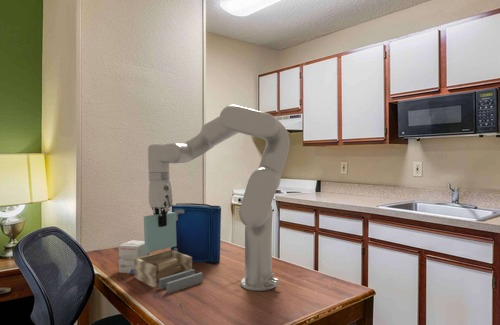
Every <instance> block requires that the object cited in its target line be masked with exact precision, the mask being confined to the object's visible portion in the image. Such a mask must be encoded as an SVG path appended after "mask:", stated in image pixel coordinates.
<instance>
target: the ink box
mask: <svg viewBox="0 0 500 325" xmlns="http://www.w3.org/2000/svg"><path fill="white" fill-rule="evenodd" d="M147 255H150V252H149V253H147V252H145V240H133V239H132V240H129V241H126V242H123V243H121V244H119V245H118V268H119V269H118V271H119V273H124V274H132V275H133V274H134V258H139V257H143V256H147Z"/></svg>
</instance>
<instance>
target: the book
mask: <svg viewBox="0 0 500 325" xmlns="http://www.w3.org/2000/svg"><path fill="white" fill-rule="evenodd" d="M171 212H175V213H176V243H177V246H175V247H170V250H174V251H177V252H179V253H182V254H185V255H188V256H190V257H192V263H205V264H208V263H210V264H217V263H218V262H220V261H221V233H222V232H221V231H222V230H221V229H222V228H221V226H222V224H221V221H222V207H221V205H212V204H211V205H210V204H207V203H194V202H193V203H191V202H190V203H189V202H188V203H187V202H186V203H175V204H173V205H172V206H171Z"/></svg>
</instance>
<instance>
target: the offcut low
mask: <svg viewBox="0 0 500 325" xmlns="http://www.w3.org/2000/svg"><path fill="white" fill-rule="evenodd" d="M181 272H182V267H181V266H179V265H178V267H177V268H174V269H171V270H167V271H164V272H161V273H158V272H156V283H159V279H161V278H164V277H168V276H171V275H174V274H178V273H181Z"/></svg>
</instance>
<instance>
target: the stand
mask: <svg viewBox="0 0 500 325" xmlns="http://www.w3.org/2000/svg"><path fill="white" fill-rule="evenodd" d="M200 283H201V284H202V283H204V273H203V272H201V271H200V272H198V273H196V270H195V269H194V268H192V269H191V270H188V271H185V272H181V273H178V274H174V275H171V276H168V277H164V278H161V279H159V286H158V289H159V290H164V289H166V290H165V292H166V293H167V294H168V295H169V294H171V293H174V292H177V291H180V290H184V289H186V288H190V287H192V286H193V287H194V286H195V285H198V284H200Z"/></svg>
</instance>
